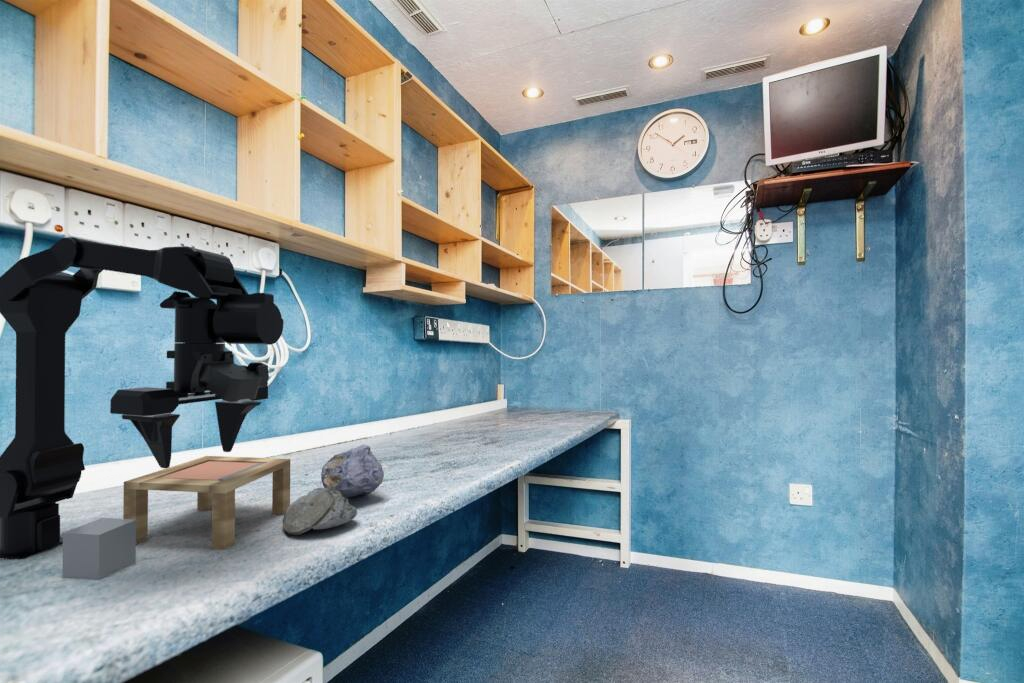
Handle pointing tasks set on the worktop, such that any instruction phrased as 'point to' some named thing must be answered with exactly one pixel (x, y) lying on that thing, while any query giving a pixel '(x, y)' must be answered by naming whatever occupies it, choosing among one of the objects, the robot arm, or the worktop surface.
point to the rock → (353, 472)
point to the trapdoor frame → (208, 494)
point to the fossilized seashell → (318, 511)
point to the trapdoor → (213, 470)
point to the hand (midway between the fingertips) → (198, 459)
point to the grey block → (99, 548)
